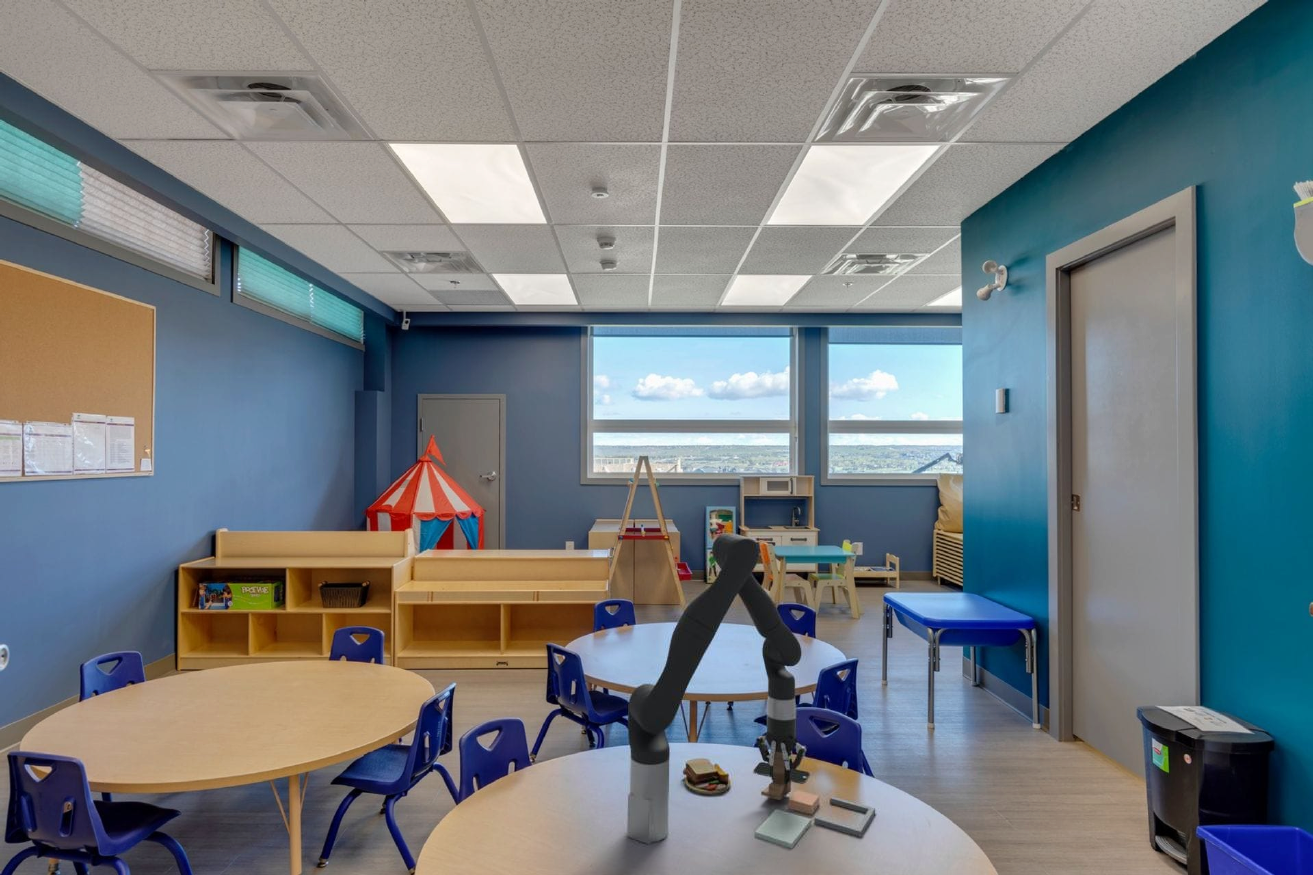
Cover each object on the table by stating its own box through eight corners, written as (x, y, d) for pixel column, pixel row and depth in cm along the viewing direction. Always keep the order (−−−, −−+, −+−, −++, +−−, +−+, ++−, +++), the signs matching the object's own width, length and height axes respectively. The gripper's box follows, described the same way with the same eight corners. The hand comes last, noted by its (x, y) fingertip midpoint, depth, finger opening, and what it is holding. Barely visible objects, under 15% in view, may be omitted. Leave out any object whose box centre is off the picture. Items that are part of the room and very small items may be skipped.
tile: (811, 815, 166) (811, 805, 167) (788, 809, 169) (788, 798, 170) (819, 805, 172) (819, 795, 172) (796, 799, 175) (796, 789, 175)
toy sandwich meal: (694, 799, 174) (694, 780, 174) (677, 776, 187) (677, 759, 187) (738, 793, 177) (738, 774, 178) (718, 771, 190) (718, 754, 191)
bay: (860, 836, 156) (860, 831, 156) (814, 822, 162) (814, 817, 162) (875, 813, 168) (875, 808, 168) (831, 800, 174) (831, 796, 174)
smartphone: (804, 783, 183) (752, 771, 189) (804, 785, 183) (752, 773, 189) (811, 772, 190) (760, 761, 196) (811, 774, 190) (760, 763, 196)
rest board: (791, 848, 151) (791, 843, 151) (754, 836, 156) (755, 831, 156) (811, 823, 162) (811, 819, 162) (776, 813, 167) (776, 808, 167)
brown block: (779, 799, 169) (781, 754, 171) (761, 794, 172) (763, 749, 174) (790, 791, 176) (792, 747, 178) (772, 786, 179) (774, 743, 180)
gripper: (750, 712, 176) (750, 779, 175) (802, 723, 168) (801, 793, 167) (762, 704, 182) (761, 769, 181) (812, 714, 175) (811, 782, 174)
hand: (780, 780), depth 174 cm, fingers closed on brown block, 3 cm apart
